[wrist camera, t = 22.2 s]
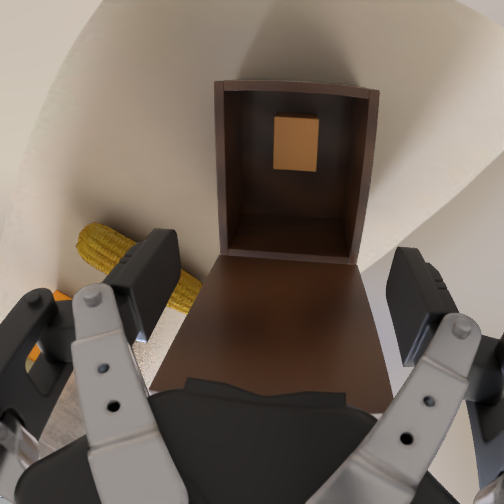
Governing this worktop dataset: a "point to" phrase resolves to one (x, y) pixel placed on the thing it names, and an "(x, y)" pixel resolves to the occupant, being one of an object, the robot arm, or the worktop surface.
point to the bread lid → (281, 333)
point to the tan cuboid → (295, 141)
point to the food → (114, 248)
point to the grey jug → (63, 421)
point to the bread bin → (293, 171)
